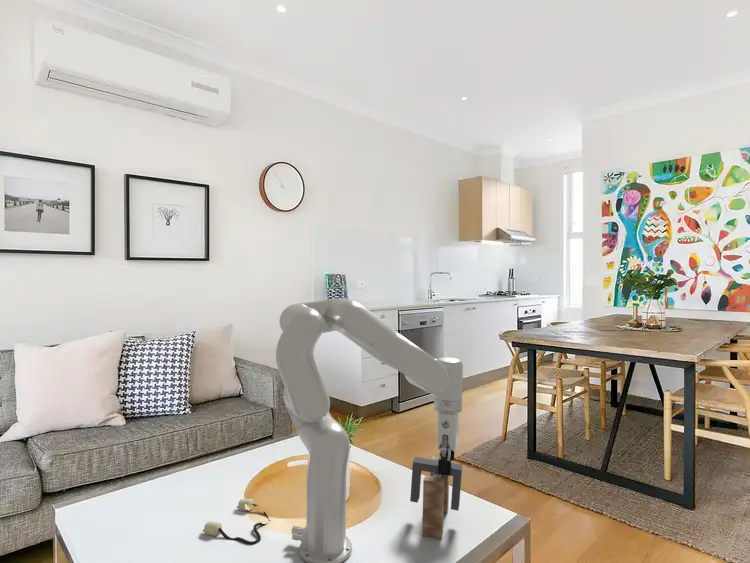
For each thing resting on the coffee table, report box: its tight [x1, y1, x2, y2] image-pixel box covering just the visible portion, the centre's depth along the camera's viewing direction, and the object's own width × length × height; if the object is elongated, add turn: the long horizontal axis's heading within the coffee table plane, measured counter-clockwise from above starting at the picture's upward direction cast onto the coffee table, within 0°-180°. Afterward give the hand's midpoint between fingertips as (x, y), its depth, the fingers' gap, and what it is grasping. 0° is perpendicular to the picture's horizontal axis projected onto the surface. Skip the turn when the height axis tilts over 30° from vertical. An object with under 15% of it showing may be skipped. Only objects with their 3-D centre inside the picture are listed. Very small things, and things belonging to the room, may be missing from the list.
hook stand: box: [421, 455, 450, 540], centre depth 127 cm, size 5×16×14 cm, turn 165°
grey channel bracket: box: [409, 456, 463, 512], centre depth 127 cm, size 13×4×11 cm, turn 75°
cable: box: [202, 498, 263, 545], centre depth 124 cm, size 16×16×4 cm
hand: (446, 466), depth 126 cm, fingers open, 9 cm apart
